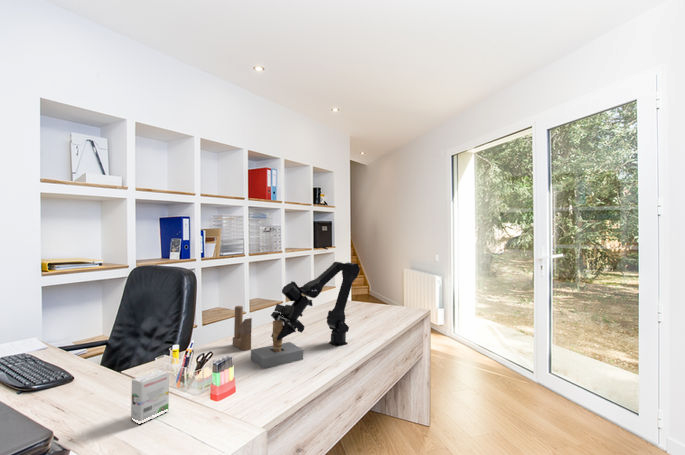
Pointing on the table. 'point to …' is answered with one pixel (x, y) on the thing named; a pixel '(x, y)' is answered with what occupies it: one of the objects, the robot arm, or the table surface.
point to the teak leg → (276, 331)
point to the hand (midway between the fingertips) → (274, 338)
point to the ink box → (149, 395)
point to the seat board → (276, 355)
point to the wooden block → (242, 330)
